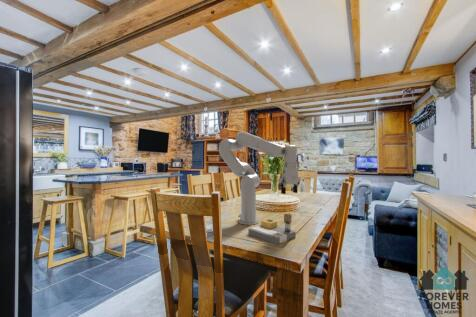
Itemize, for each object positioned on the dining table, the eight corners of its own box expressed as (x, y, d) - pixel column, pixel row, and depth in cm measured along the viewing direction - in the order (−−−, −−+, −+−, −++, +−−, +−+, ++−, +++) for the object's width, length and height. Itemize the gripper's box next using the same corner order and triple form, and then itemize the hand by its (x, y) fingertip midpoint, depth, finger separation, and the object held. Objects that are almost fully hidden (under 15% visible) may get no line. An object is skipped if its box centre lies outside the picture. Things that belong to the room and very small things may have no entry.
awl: (282, 231, 124) (282, 214, 124) (286, 229, 127) (286, 213, 127) (288, 233, 121) (288, 216, 121) (292, 231, 124) (293, 214, 124)
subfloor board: (248, 234, 128) (248, 228, 128) (267, 228, 138) (267, 223, 138) (277, 244, 113) (277, 238, 113) (295, 237, 124) (295, 231, 124)
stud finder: (261, 226, 133) (261, 220, 133) (267, 224, 137) (267, 218, 137) (270, 228, 128) (270, 222, 128) (277, 226, 132) (277, 220, 132)
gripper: (283, 165, 133) (282, 195, 133) (304, 165, 141) (304, 193, 142) (275, 165, 139) (274, 193, 139) (295, 165, 148) (295, 191, 148)
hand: (289, 193), depth 140 cm, fingers open, 9 cm apart
